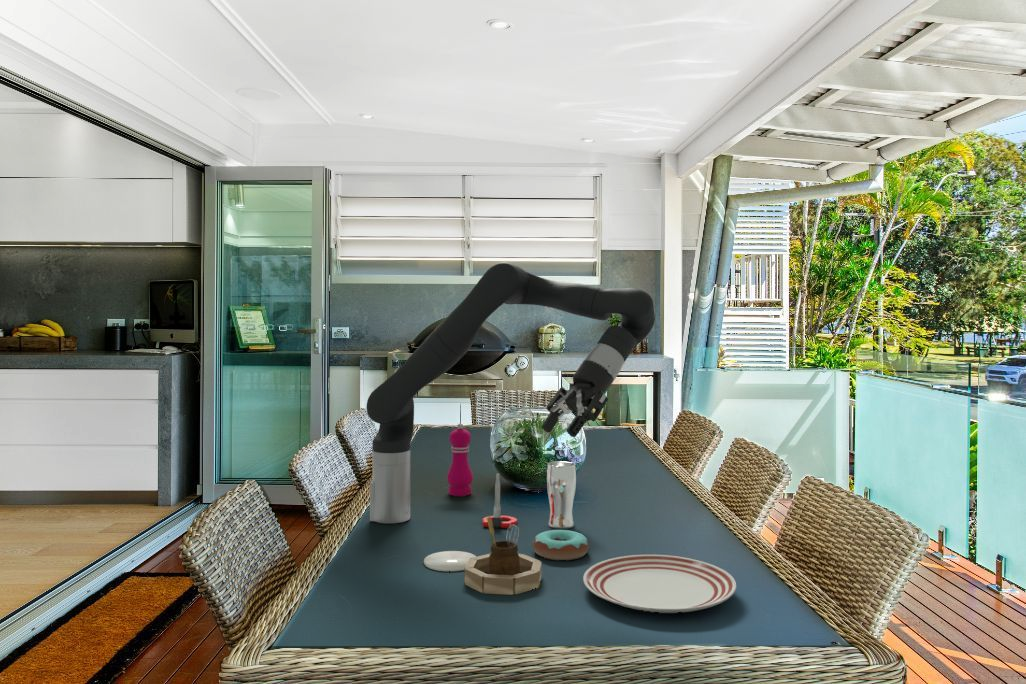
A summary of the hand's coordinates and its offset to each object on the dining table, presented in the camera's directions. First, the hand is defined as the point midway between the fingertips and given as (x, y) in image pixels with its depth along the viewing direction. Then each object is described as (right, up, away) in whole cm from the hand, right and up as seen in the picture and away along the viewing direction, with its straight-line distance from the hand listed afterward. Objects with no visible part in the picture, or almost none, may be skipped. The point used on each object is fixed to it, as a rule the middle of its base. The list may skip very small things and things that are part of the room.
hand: (557, 432), depth 152 cm
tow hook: (-12, -26, +33) cm, 44 cm away
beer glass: (+3, -26, +31) cm, 41 cm away
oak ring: (-11, -28, -7) cm, 30 cm away
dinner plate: (+18, -28, -13) cm, 36 cm away
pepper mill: (-24, -25, +62) cm, 71 cm away
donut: (+1, -27, +10) cm, 29 cm away
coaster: (-22, -27, +4) cm, 35 cm away
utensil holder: (-11, -28, -7) cm, 30 cm away
